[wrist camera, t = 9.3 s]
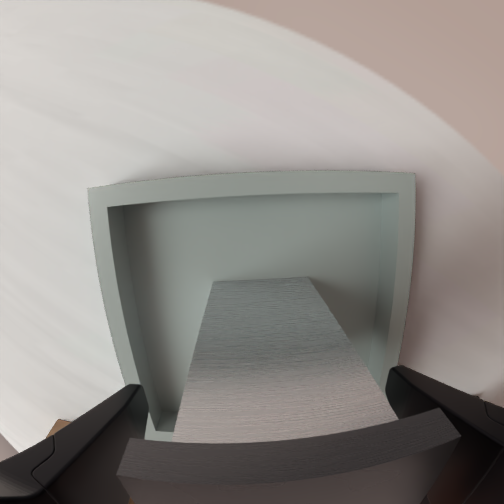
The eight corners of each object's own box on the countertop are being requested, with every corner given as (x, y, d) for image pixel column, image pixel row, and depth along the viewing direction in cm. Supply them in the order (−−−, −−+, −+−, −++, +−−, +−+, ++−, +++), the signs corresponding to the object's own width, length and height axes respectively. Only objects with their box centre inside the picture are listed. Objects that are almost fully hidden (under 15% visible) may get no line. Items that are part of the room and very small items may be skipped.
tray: (392, 173, 12) (415, 173, 10) (370, 401, 15) (382, 423, 13) (108, 186, 12) (87, 188, 10) (152, 415, 15) (145, 439, 13)
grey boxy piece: (318, 264, 13) (461, 435, 3) (315, 363, 14) (383, 548, 4) (200, 270, 13) (116, 474, 3) (211, 370, 14) (187, 568, 4)
